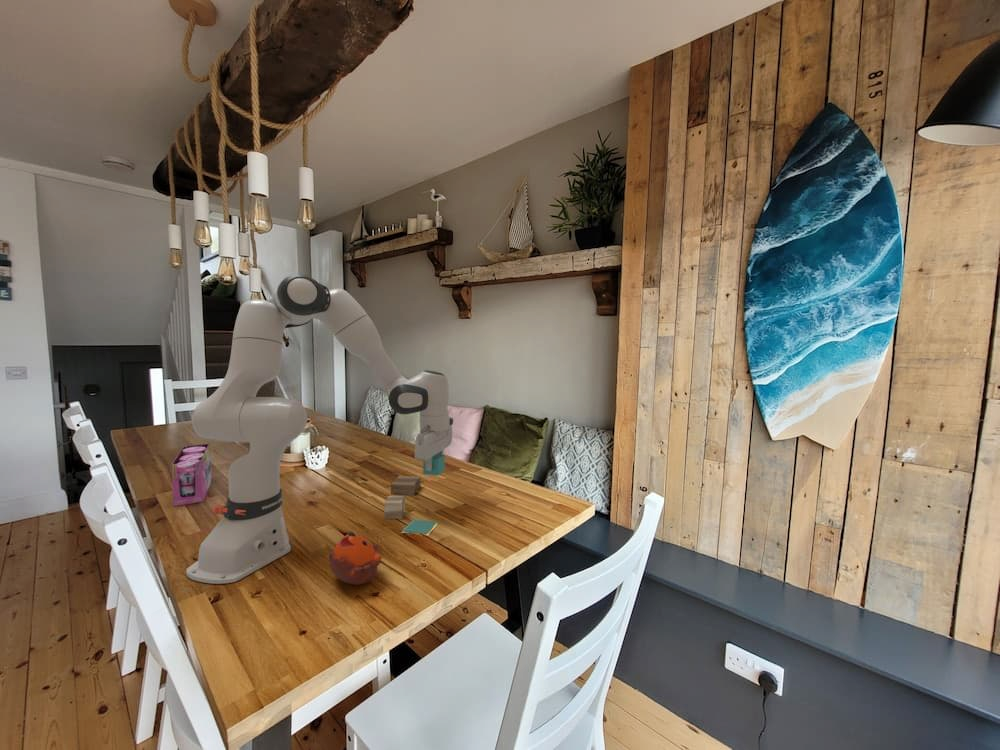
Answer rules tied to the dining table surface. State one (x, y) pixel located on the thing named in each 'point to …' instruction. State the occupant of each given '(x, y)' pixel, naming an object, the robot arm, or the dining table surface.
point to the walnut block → (405, 485)
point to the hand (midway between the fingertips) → (434, 466)
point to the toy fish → (355, 559)
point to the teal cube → (436, 465)
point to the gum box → (191, 474)
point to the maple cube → (394, 506)
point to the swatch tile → (419, 526)
